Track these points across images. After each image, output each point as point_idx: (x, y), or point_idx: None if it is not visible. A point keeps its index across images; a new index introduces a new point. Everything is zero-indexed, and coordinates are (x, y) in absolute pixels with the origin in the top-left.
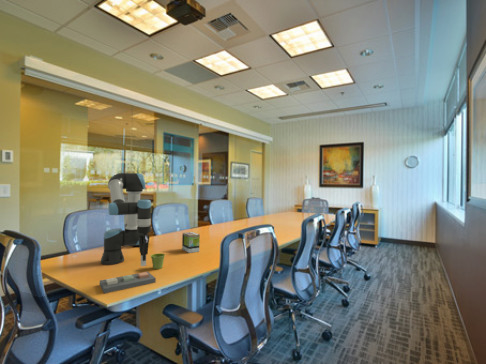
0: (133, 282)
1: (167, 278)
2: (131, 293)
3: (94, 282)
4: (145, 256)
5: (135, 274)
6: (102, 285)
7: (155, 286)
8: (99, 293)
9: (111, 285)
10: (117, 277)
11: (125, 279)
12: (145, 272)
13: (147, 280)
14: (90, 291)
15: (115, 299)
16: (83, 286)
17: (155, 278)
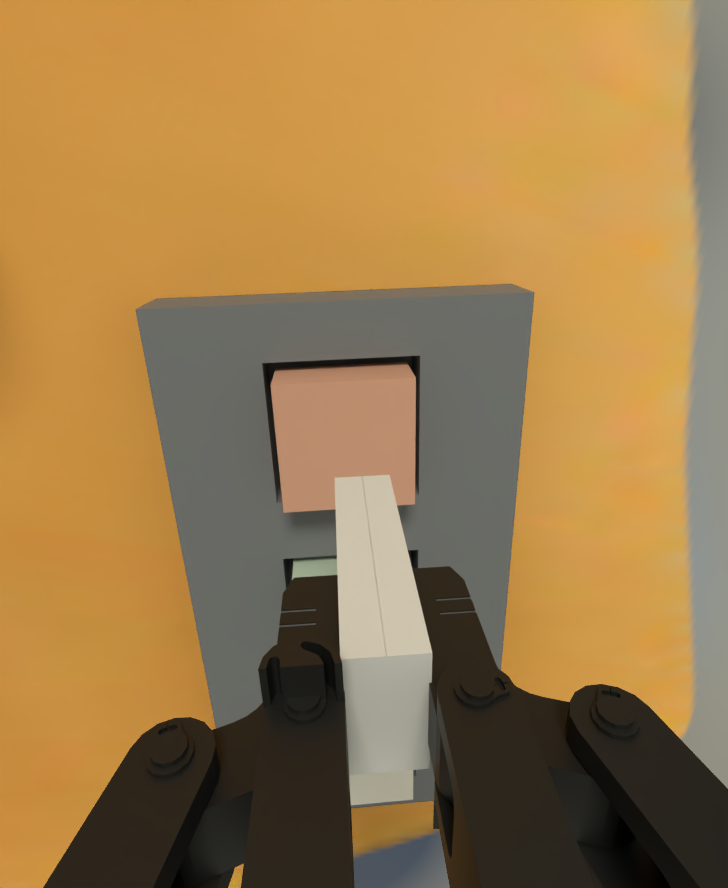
0: (501, 575)
1: (460, 39)
2: (639, 584)
3: None
4: (489, 651)
5: (202, 506)
6: (395, 803)
7: (642, 327)
8: None
9: None
10: (218, 690)
11: None
12: (297, 403)
13: (520, 411)
14: (363, 823)
15: (664, 697)
16: None
17: (531, 293)
